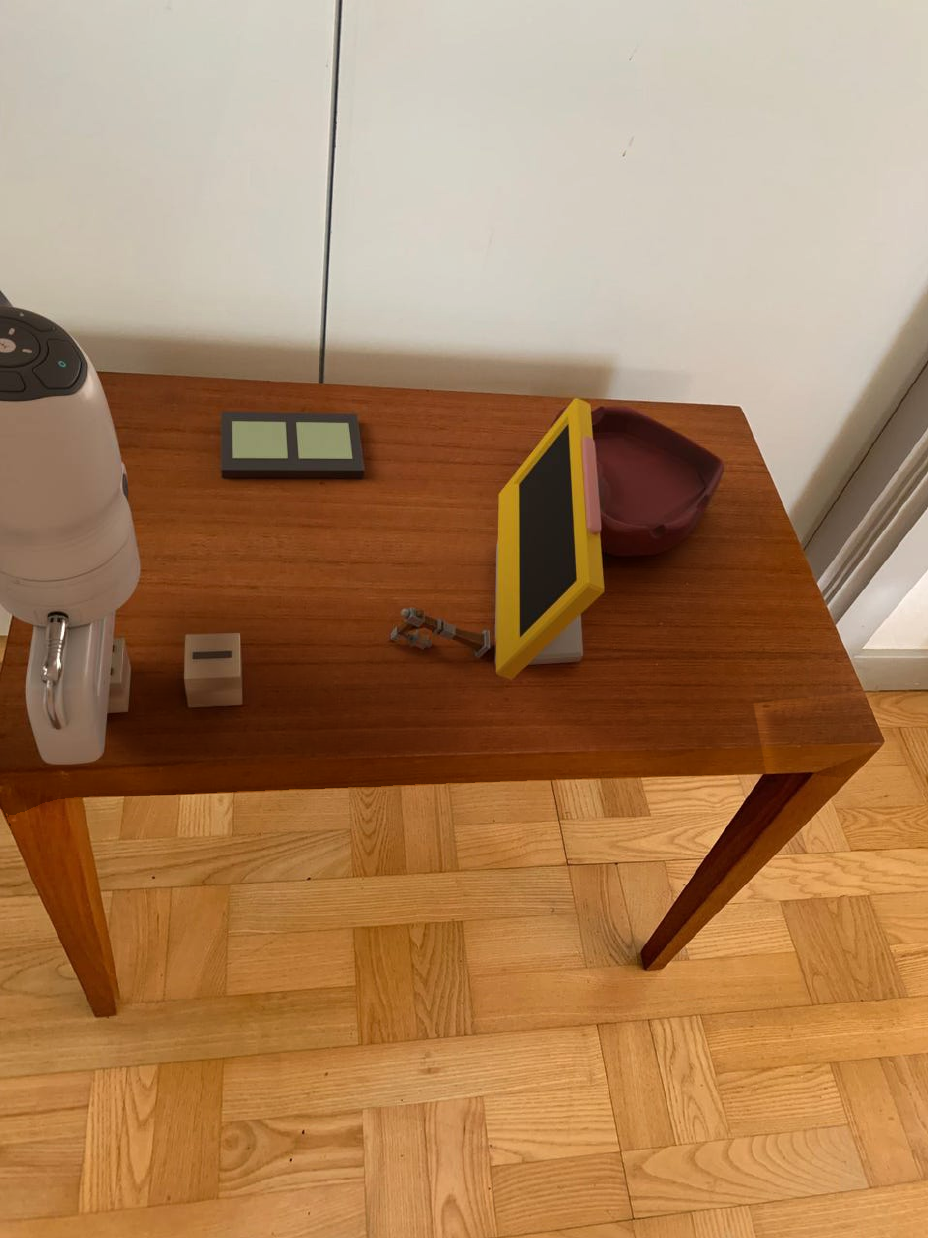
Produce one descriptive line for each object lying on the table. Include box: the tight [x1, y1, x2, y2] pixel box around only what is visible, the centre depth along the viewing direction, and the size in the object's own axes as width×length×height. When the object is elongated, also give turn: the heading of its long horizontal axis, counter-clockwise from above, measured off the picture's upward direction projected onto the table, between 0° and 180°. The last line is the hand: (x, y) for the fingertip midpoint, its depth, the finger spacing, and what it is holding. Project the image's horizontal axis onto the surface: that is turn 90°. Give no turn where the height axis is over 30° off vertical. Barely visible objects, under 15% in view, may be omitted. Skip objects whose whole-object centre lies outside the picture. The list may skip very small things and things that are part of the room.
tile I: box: [183, 632, 243, 708], centre depth 70 cm, size 4×4×4 cm
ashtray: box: [549, 405, 725, 557], centre depth 90 cm, size 18×16×5 cm
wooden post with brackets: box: [388, 606, 491, 659], centre depth 76 cm, size 2×8×4 cm, turn 91°
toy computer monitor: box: [493, 397, 605, 681], centre depth 75 cm, size 20×8×16 cm, turn 178°
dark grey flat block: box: [220, 411, 365, 479], centre depth 88 cm, size 13×8×1 cm, turn 99°
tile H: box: [107, 637, 132, 714], centre depth 68 cm, size 4×4×4 cm
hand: (98, 678), depth 69 cm, fingers closed on tile H, 4 cm apart
